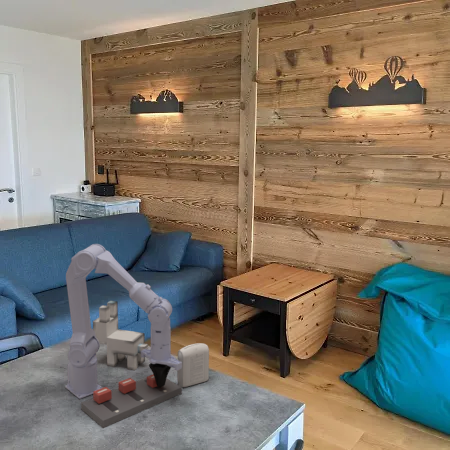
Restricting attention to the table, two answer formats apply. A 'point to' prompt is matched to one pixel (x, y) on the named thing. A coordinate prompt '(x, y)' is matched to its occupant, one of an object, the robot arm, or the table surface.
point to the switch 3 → (151, 381)
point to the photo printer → (193, 364)
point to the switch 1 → (102, 395)
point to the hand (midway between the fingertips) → (161, 385)
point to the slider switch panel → (129, 402)
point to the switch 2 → (127, 385)
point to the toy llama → (118, 338)
